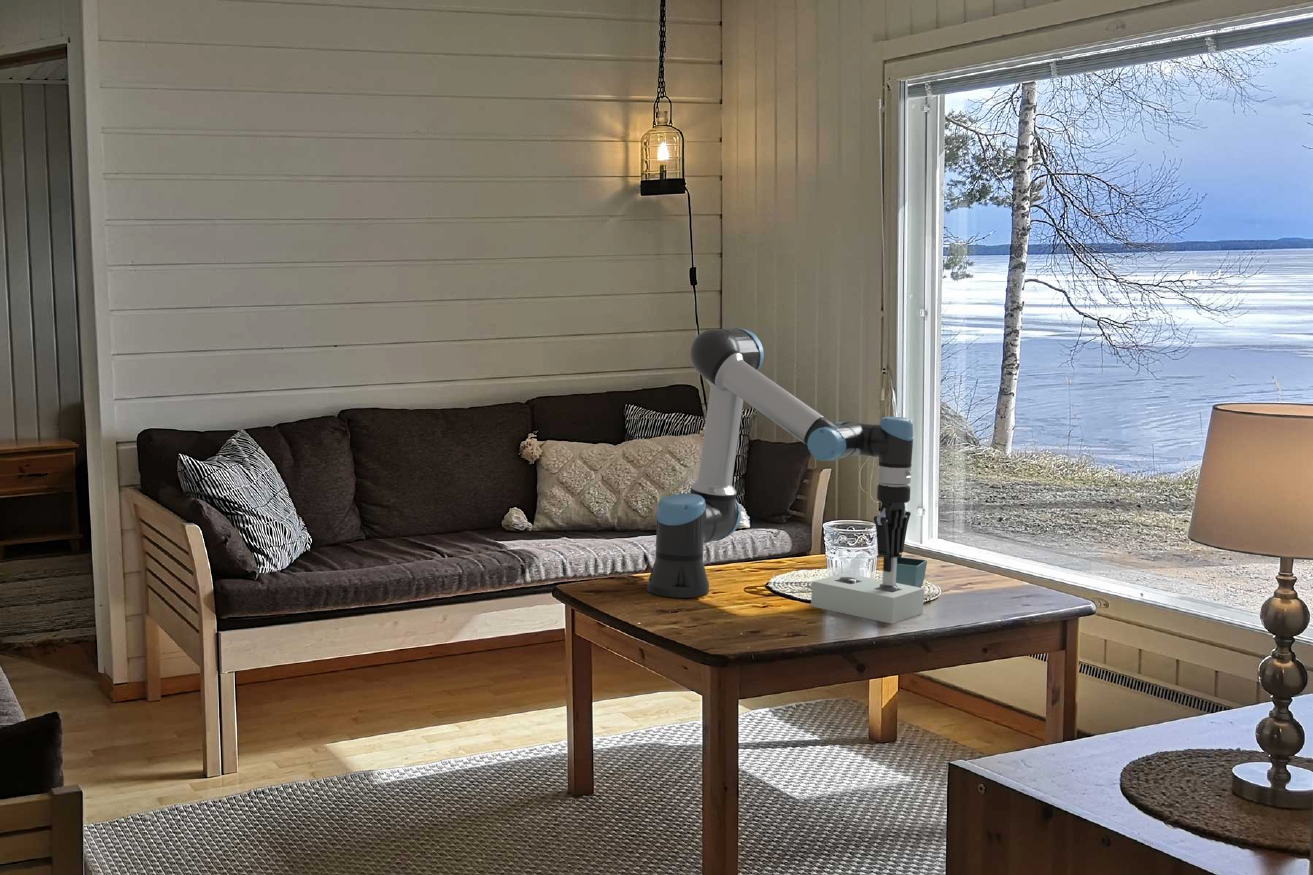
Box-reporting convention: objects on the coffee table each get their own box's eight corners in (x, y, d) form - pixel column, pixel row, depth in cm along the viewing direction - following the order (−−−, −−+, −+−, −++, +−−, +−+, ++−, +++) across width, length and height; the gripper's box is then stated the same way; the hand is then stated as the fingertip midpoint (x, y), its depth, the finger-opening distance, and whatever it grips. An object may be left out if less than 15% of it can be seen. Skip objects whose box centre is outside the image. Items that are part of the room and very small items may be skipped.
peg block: (810, 606, 309) (812, 581, 308) (842, 596, 319) (844, 572, 319) (892, 623, 295) (893, 597, 294) (922, 613, 305) (924, 588, 305)
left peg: (835, 603, 310) (836, 578, 310) (844, 600, 313) (845, 576, 313) (849, 606, 308) (850, 581, 307) (858, 603, 311) (859, 578, 310)
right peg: (875, 610, 303) (876, 585, 302) (884, 607, 306) (885, 582, 305) (890, 613, 301) (891, 588, 300) (898, 610, 304) (900, 585, 303)
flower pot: (880, 597, 320) (882, 561, 319) (891, 590, 328) (893, 555, 327) (915, 602, 316) (917, 566, 315) (925, 595, 324) (927, 560, 323)
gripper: (893, 488, 293) (888, 591, 295) (922, 483, 302) (917, 582, 305) (865, 485, 297) (860, 586, 300) (894, 479, 307) (889, 577, 310)
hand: (889, 584), depth 303 cm, fingers closed
